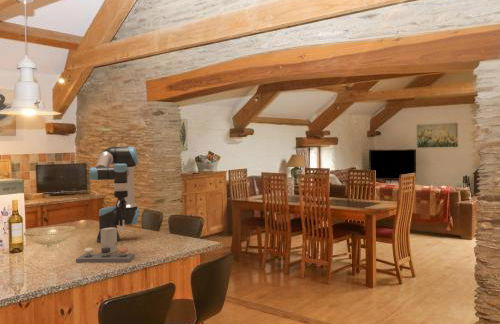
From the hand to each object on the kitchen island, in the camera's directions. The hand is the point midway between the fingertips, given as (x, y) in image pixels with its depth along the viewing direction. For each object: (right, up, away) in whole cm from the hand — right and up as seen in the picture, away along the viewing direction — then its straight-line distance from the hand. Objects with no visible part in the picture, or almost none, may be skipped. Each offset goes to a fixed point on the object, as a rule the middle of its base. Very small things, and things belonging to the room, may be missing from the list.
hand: (121, 231), depth 263 cm
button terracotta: (+1, -15, -1) cm, 15 cm away
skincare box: (-13, -16, +17) cm, 26 cm away
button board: (-9, -16, -1) cm, 18 cm away
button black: (-9, -15, -1) cm, 17 cm away
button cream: (-19, -15, -1) cm, 24 cm away
